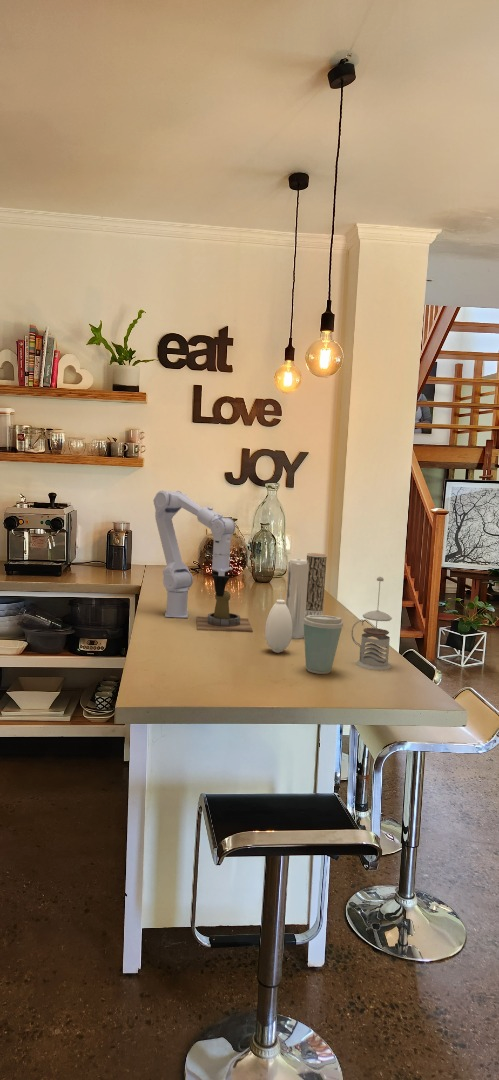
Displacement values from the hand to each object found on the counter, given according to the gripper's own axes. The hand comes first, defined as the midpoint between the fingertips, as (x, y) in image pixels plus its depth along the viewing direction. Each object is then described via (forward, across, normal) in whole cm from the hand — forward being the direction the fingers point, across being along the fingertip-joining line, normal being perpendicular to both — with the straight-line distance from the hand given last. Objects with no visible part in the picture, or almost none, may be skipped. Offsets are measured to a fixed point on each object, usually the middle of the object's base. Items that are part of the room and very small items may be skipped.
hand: (219, 594), depth 230 cm
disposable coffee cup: (+10, -51, -25) cm, 58 cm away
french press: (+10, -43, -41) cm, 60 cm away
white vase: (+10, -33, -16) cm, 38 cm away
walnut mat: (+10, 0, -2) cm, 11 cm away
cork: (+10, 0, -1) cm, 10 cm away
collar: (+10, 0, -2) cm, 11 cm away
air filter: (+10, -13, -24) cm, 29 cm away
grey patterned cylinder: (+10, +4, -33) cm, 35 cm away
